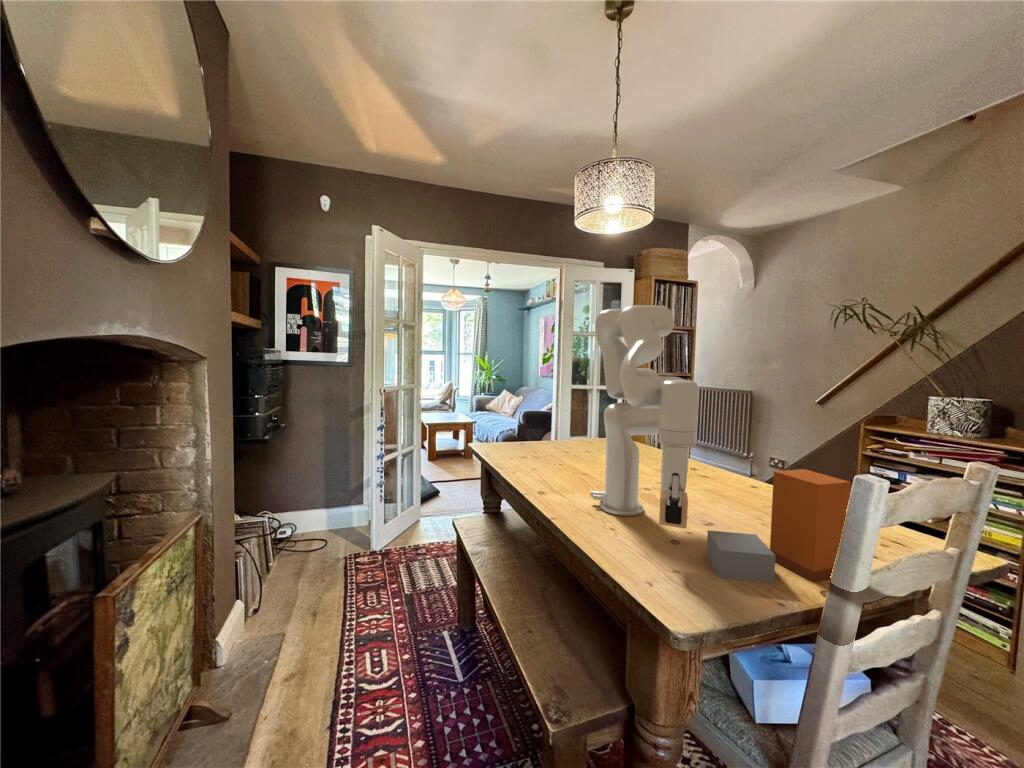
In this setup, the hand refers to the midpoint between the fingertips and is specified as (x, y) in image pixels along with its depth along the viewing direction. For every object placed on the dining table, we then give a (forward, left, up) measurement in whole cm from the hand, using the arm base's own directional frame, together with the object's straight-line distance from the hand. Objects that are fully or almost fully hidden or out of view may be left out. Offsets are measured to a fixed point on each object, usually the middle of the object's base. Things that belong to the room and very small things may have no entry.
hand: (672, 516), depth 91 cm
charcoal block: (+13, +1, -10) cm, 17 cm away
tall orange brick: (+27, +7, -10) cm, 30 cm away
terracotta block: (0, 0, -1) cm, 1 cm away
